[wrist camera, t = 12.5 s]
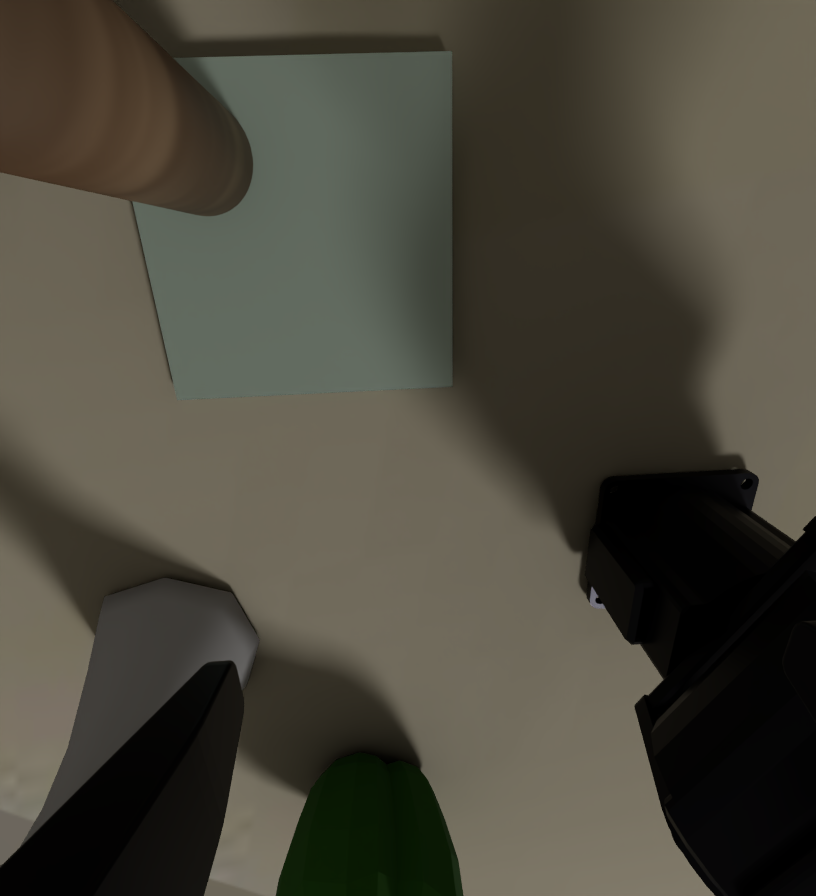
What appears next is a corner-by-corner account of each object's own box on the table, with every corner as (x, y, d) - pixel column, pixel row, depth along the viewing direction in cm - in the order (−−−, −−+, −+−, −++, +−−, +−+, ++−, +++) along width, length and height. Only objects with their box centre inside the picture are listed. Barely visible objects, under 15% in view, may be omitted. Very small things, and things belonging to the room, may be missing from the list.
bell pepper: (275, 814, 27) (219, 1103, 18) (321, 714, 24) (285, 994, 15) (412, 841, 29) (426, 1120, 20) (470, 750, 26) (518, 1024, 17)
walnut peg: (267, 59, 14) (-510, -1291, 2) (289, 241, 16) (-20, 192, 4) (96, 63, 14) (-2069, -1396, 2) (138, 246, 15) (-728, 215, 3)
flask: (81, 576, 21) (-162, 838, 11) (252, 570, 21) (151, 821, 12) (118, 698, 23) (-52, 989, 14) (269, 692, 24) (198, 972, 15)
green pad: (449, 58, 14) (452, 51, 14) (450, 382, 18) (452, 386, 18) (111, 67, 14) (100, 59, 14) (183, 395, 18) (177, 399, 17)
